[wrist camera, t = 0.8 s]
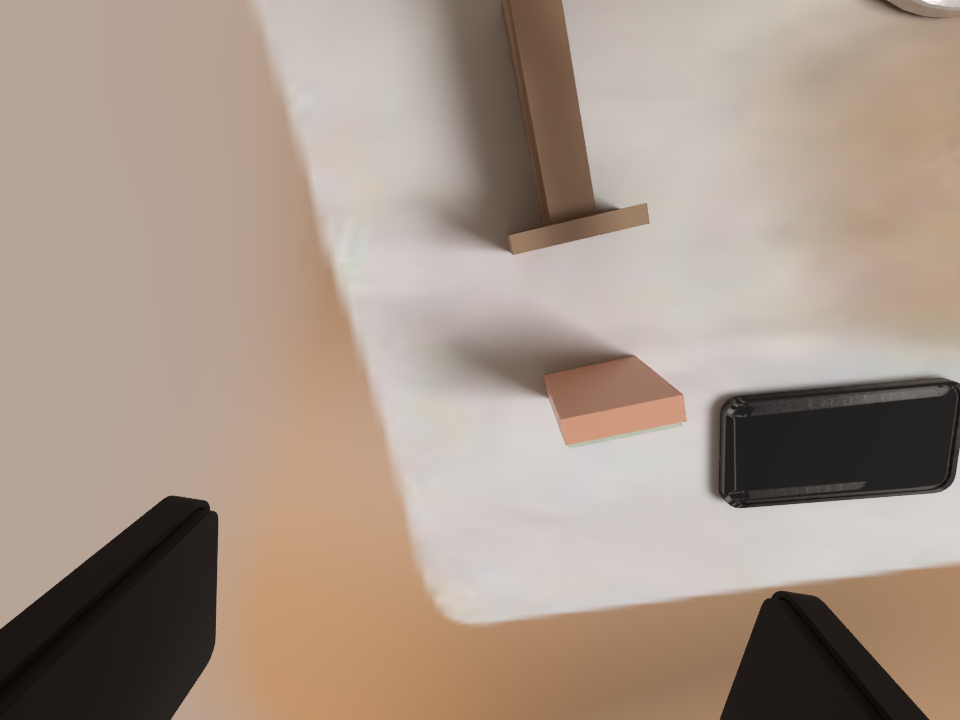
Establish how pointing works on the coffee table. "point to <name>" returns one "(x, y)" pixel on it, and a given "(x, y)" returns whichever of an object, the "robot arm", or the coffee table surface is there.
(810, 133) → the coffee table surface
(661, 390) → the tile
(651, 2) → the coffee table surface
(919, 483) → the phone
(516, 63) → the post on base stand
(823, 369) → the coffee table surface
